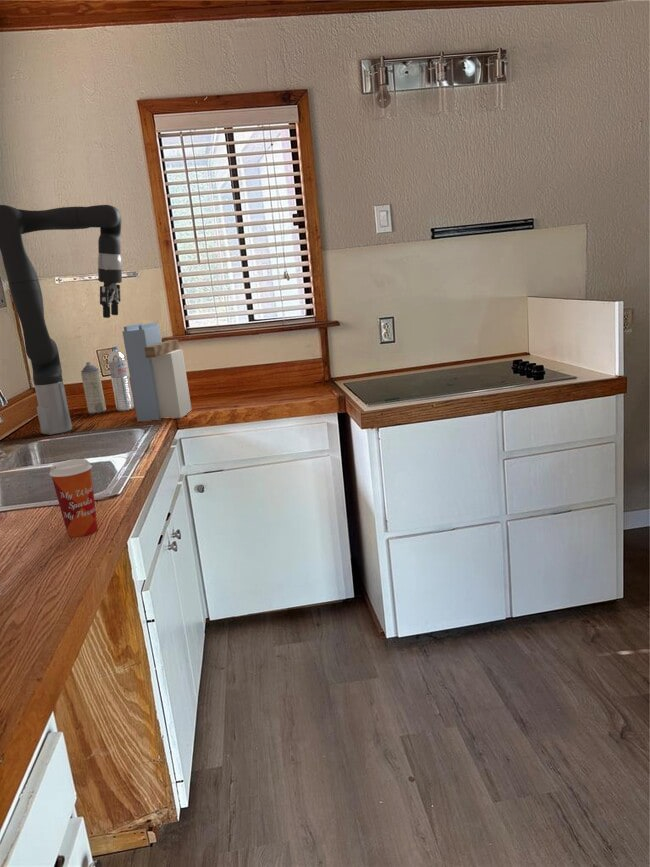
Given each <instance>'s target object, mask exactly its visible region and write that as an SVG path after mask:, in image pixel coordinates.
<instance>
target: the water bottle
mask: <svg viewBox="0 0 650 867" xmlns="http://www.w3.org/2000/svg"><path fill="white" fill-rule="evenodd" d="M111 348H112V351H111V352H110V353H109V355H108V357H107V362H108V366H109V370H110V372H109V373H110V380H111V385H112V390H113V396H114V402H115V408H116V410H117V411H118V412H125V411H126V410H127V411H130V409H131V410H134V409H135V403H134V397H133V391H132V385H131V380H130V374H129V368H128V362H127V356H126V354H124V352H123V351H120V350H118V346H112V347H111Z"/></svg>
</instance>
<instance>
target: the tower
mask: <svg viewBox="0 0 650 867" xmlns="http://www.w3.org/2000/svg"><path fill="white" fill-rule="evenodd" d="M160 328H161V327H160V325H158V323H157V321H154V322H150V323H145V324H143V323H136V324H131V325H126V326H123V331H122V338H123V344H124V349H125V350H124V351H125V356H126V363H127V368H128V374H129V379H130V384H131V390H132V396H133V402H134V409H135V414H136V415H135V416H136V419H137V420H136V421H137V422H139V421H142V422H150V421H149V420H158V421H160V420H162V419H161V416H160V410H159V404H158V397H157V391H156V385H155V379H154V373H153V366H152V360H151V358H146V355H145V348H144V347H148V346H151V345H155V344H158V343H161V342H163V341H162V335H161V329H160ZM159 419H160V420H159Z"/></svg>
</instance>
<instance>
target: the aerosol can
mask: <svg viewBox="0 0 650 867" xmlns="http://www.w3.org/2000/svg"><path fill="white" fill-rule="evenodd" d="M82 368H83V369H82V370H81V371H80V372H81V375H80V376H81V378H82V379H81V380H82V386H83V390H84V397H85V401H86V406H87V412H88V414H89V415H96V414H95V413H98V414H102V413H101V412H103V413H106V412H107V411H106V410H107V406H106V400H105V396H104V389H103V385H102V384H103V383H102V378H101V373H100V369H99V368H97V367H96V366H94V365H93V364H92V362H91V361H87V362H86V363H85V366H84V367H82ZM105 411H106V412H105Z"/></svg>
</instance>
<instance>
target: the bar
mask: <svg viewBox="0 0 650 867" xmlns="http://www.w3.org/2000/svg"><path fill="white" fill-rule="evenodd" d="M144 348H145V355H146V358H151V357H158V356H161V355H164V354H167V353H169V352H172V351H175V350H180V345H179V339H169V340H166V341H162V342H161V343H158V344H155V345H151V346H148V347H144Z"/></svg>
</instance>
